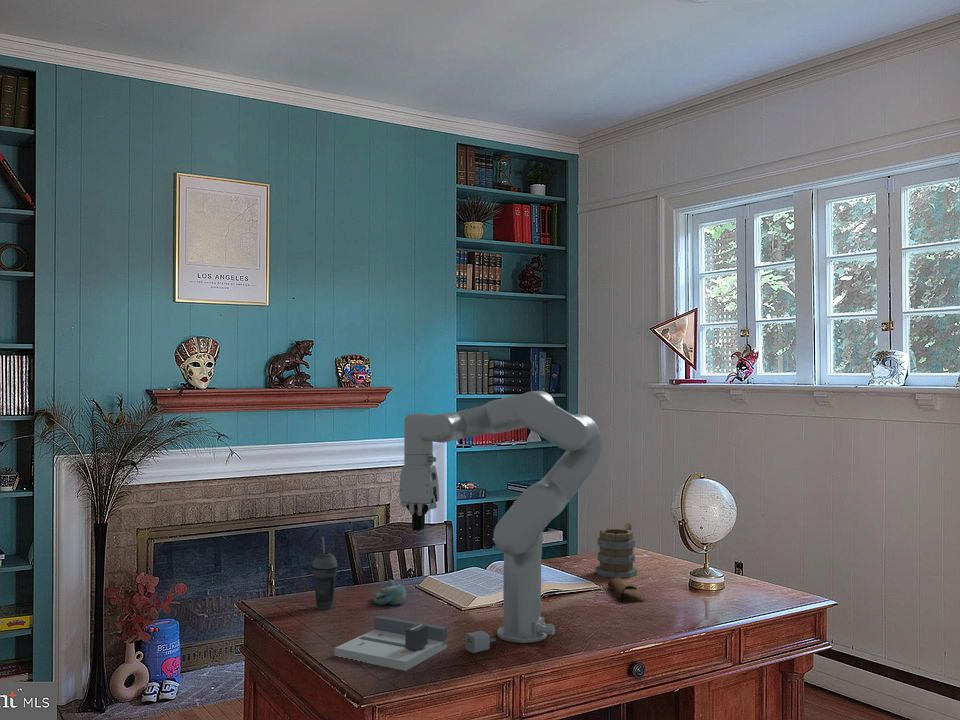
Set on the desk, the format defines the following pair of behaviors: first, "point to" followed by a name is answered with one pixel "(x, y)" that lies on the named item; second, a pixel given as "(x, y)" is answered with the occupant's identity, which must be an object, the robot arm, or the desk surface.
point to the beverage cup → (324, 579)
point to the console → (392, 644)
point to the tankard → (616, 553)
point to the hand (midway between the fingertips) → (418, 529)
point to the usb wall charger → (478, 641)
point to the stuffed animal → (391, 594)
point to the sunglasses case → (625, 590)
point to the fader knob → (416, 636)
